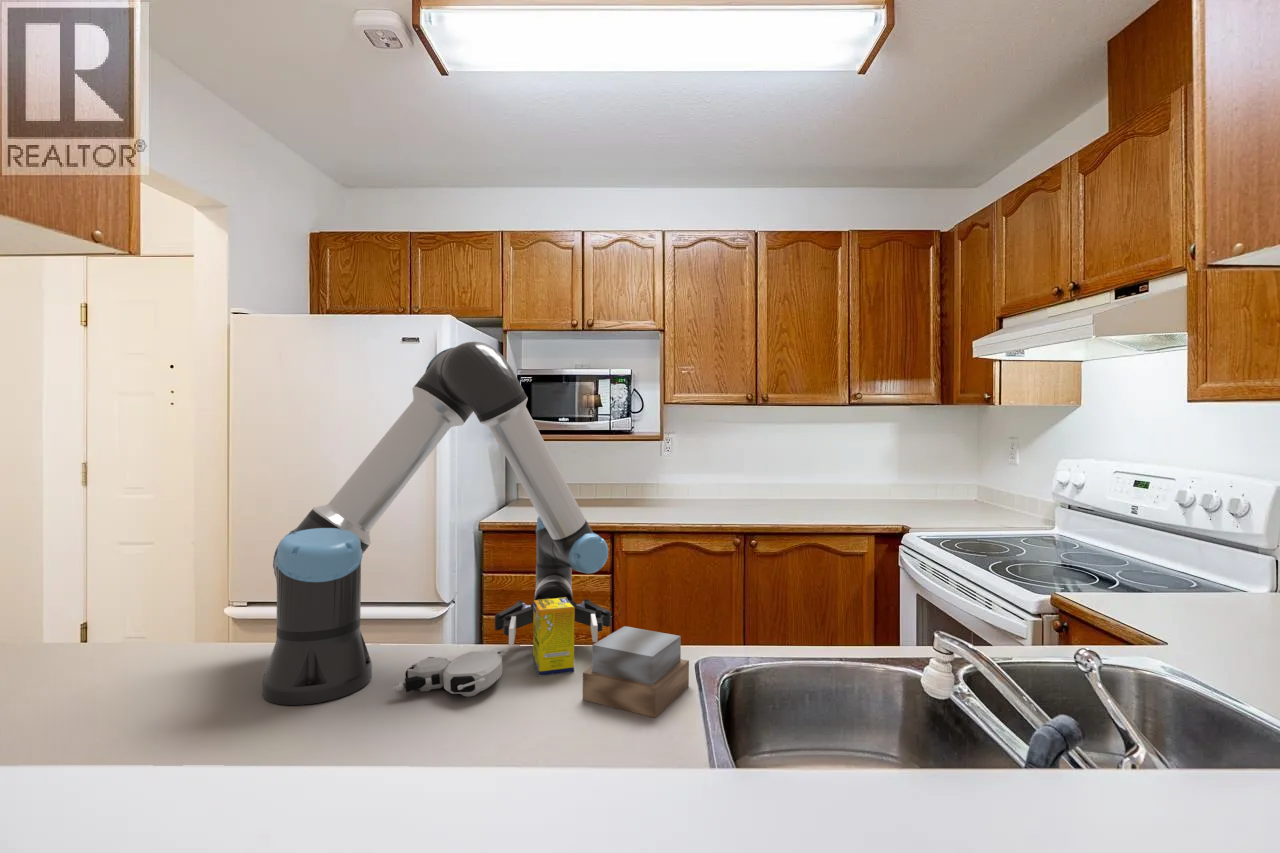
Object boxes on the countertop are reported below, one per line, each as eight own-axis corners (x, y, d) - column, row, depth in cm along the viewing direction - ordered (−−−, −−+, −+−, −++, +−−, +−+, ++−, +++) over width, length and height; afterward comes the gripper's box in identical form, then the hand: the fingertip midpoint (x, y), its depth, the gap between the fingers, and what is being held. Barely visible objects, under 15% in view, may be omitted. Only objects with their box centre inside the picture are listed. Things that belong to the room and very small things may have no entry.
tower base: (582, 699, 92) (583, 645, 92) (621, 671, 103) (622, 623, 103) (655, 717, 86) (655, 660, 86) (688, 686, 97) (689, 635, 97)
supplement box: (532, 663, 106) (532, 599, 106) (566, 659, 108) (566, 596, 108) (538, 677, 100) (539, 609, 100) (574, 672, 102) (575, 606, 102)
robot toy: (388, 710, 90) (489, 705, 89) (386, 679, 90) (487, 674, 89) (422, 676, 102) (511, 672, 102) (421, 649, 102) (510, 644, 102)
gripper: (616, 616, 124) (629, 655, 103) (488, 620, 120) (475, 661, 99) (616, 578, 124) (629, 609, 103) (489, 582, 120) (475, 614, 99)
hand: (553, 635), depth 101 cm, fingers open, 13 cm apart
